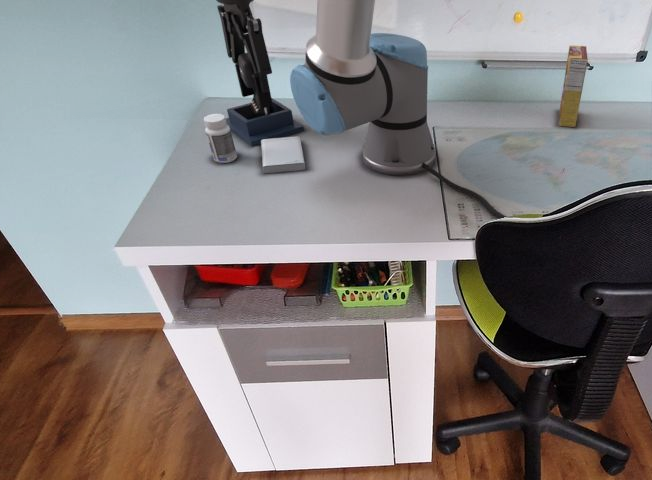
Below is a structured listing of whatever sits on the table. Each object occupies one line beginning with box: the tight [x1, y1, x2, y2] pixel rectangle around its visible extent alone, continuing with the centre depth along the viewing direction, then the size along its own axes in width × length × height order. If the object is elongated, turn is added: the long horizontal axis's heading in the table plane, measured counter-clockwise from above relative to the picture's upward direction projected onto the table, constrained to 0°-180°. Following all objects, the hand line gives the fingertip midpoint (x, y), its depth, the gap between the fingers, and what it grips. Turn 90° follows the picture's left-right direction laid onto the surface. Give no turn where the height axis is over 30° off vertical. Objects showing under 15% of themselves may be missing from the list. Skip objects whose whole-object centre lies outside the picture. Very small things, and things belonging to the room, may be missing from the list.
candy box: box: [558, 44, 589, 128], centre depth 126 cm, size 9×4×15 cm, turn 171°
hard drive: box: [260, 136, 306, 174], centre depth 112 cm, size 2×8×12 cm
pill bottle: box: [203, 113, 238, 164], centre depth 109 cm, size 5×5×8 cm
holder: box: [225, 97, 305, 147], centre depth 121 cm, size 14×13×4 cm
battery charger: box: [238, 52, 270, 116], centre depth 116 cm, size 7×4×11 cm, turn 26°
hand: (257, 100), depth 118 cm, fingers closed on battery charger, 7 cm apart
